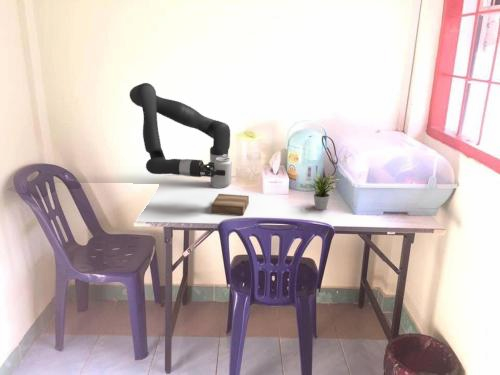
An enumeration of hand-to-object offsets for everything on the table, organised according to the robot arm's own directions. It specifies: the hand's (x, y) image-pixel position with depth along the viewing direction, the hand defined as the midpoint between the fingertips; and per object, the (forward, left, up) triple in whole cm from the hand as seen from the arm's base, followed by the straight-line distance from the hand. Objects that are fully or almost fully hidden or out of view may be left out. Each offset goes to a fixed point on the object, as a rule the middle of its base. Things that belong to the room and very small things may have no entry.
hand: (227, 170), depth 189 cm
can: (+1, -2, -7) cm, 7 cm away
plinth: (-1, +1, -18) cm, 18 cm away
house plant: (-22, +36, -18) cm, 46 cm away
